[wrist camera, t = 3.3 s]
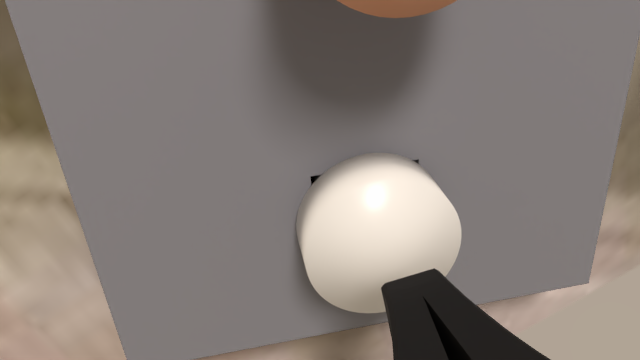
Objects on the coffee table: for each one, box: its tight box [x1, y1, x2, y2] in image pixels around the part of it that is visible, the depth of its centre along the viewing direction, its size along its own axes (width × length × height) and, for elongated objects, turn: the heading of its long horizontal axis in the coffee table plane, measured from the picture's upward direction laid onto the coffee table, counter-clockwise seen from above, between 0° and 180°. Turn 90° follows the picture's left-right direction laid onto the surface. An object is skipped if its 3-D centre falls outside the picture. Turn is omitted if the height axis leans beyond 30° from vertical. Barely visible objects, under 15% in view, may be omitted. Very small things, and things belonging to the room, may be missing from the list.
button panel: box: [5, 0, 640, 360], centre depth 16 cm, size 16×18×2 cm
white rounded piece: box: [296, 153, 461, 313], centre depth 17 cm, size 4×4×4 cm
